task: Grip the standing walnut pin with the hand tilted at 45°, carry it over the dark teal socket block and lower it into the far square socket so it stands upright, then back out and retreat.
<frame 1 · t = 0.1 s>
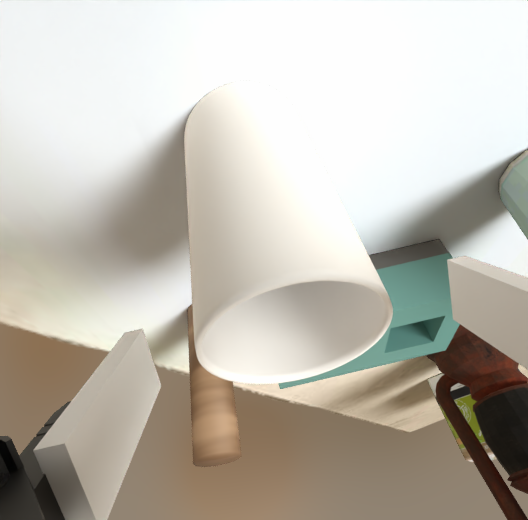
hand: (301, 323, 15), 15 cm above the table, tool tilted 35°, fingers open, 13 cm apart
walnut pin: (205, 310, 39), on the table
lantern: (466, 336, 58), on the table
cup: (243, 140, 25), on the table
tea box: (467, 369, 70), on the table
socket block: (345, 293, 42), on the table
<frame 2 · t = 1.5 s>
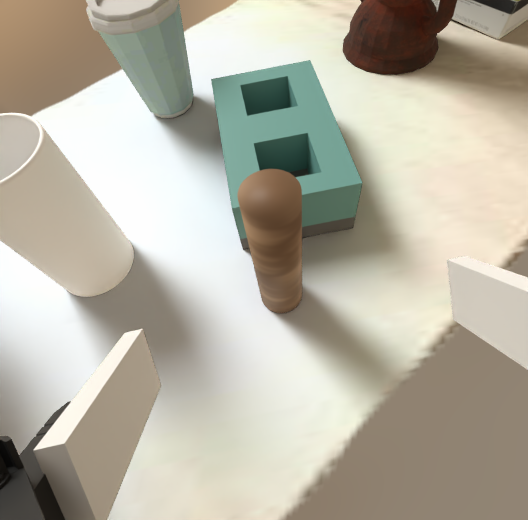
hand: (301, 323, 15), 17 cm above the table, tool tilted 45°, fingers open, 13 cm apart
walnut pin: (281, 294, 35), on the table
lantern: (388, 48, 54), on the table
cup: (98, 263, 39), on the table
tea box: (474, 13, 57), on the table
disposable coffee cup: (170, 106, 52), on the table
socket block: (280, 171, 43), on the table
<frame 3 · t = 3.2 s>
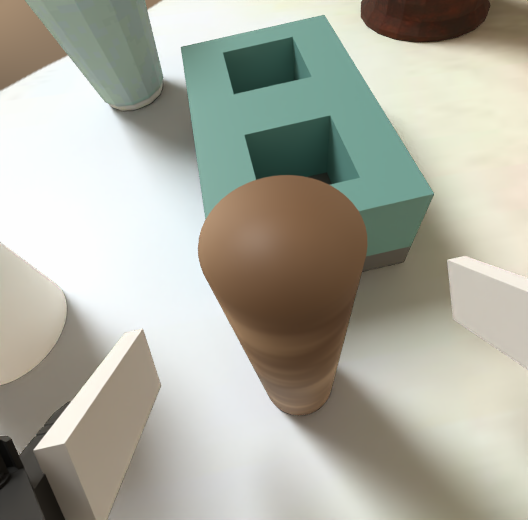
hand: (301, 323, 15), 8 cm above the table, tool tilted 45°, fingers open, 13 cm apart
walnut pin: (298, 379, 21), on the table
lantern: (420, 11, 41), on the table
cup: (12, 328, 25), on the table
disposable coffee cup: (133, 96, 39), on the table
socket block: (285, 178, 30), on the table
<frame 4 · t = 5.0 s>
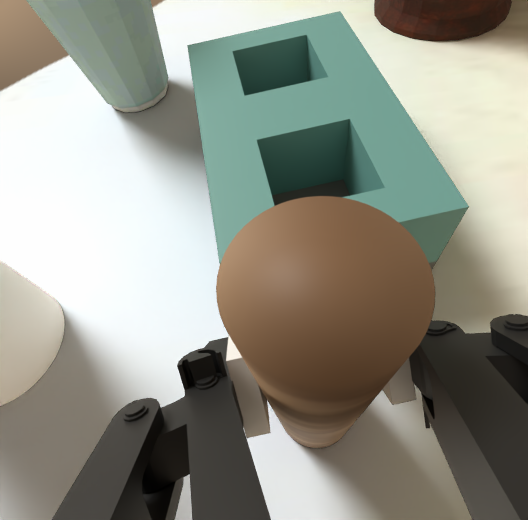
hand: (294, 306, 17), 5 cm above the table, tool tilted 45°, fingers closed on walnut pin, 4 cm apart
walnut pin: (314, 406, 19), on the table, touching gripper
lantern: (437, 8, 39), on the table
cup: (6, 345, 24), on the table
disposable coffee cup: (137, 97, 37), on the table
socket block: (297, 185, 28), on the table
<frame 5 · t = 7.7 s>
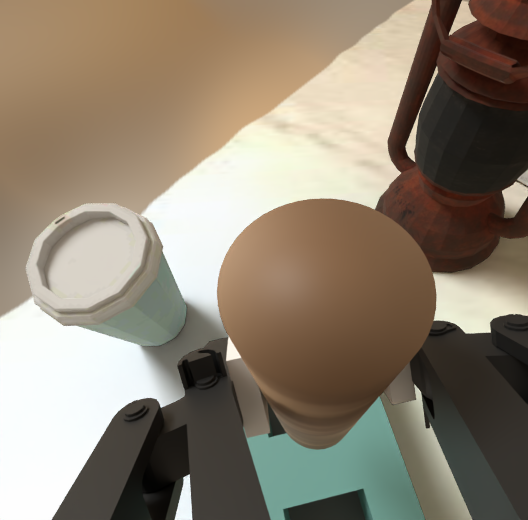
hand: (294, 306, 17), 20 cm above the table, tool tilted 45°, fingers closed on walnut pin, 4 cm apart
walnut pin: (314, 408, 19), point 15 cm above the table, touching gripper
lantern: (433, 222, 42), on the table
disposable coffee cup: (157, 321, 40), on the table
socket block: (313, 463, 31), on the table
when the fingers open (9 cm above the table, at t = 10.4 s): walnut pin drops 1 cm, resting on socket block.
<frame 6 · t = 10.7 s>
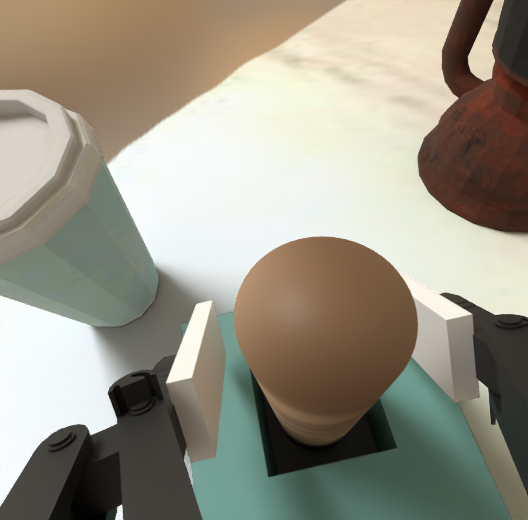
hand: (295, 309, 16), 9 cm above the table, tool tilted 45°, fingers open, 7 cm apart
walnut pin: (313, 412, 21), point 2 cm above the table, touching socket block
lantern: (499, 169, 31), on the table
disposable coffee cup: (119, 295, 29), on the table
socket block: (337, 510, 20), on the table
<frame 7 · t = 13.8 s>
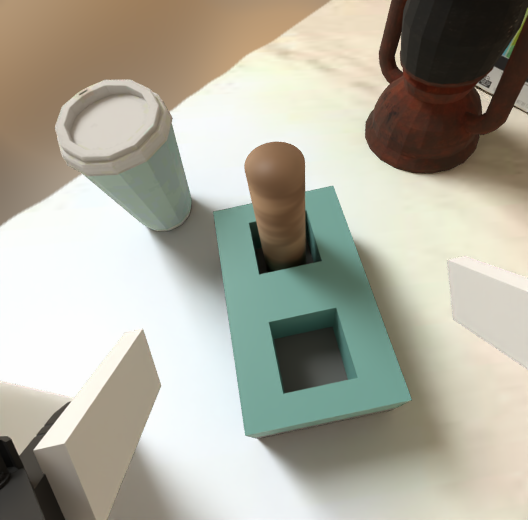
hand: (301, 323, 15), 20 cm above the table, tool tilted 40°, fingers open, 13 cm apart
walnut pin: (286, 266, 37), point 2 cm above the table, touching socket block
lantern: (418, 133, 46), on the table
cup: (82, 451, 32), on the table
tea box: (518, 84, 49), on the table
disposable coffee cup: (165, 213, 44), on the table
socket block: (298, 317, 36), on the table
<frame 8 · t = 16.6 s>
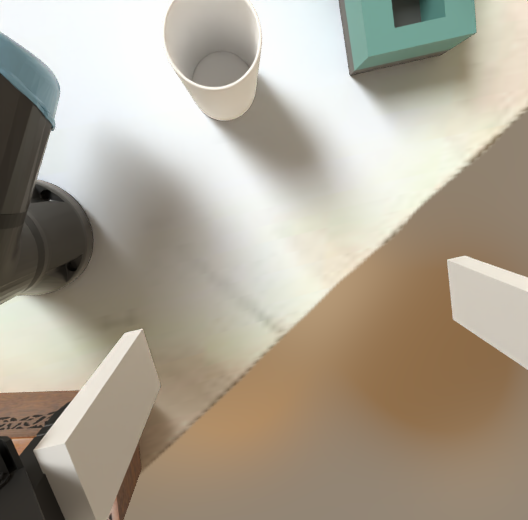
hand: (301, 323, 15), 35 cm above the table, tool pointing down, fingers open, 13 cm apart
cup: (223, 86, 45), on the table
tissue box cover: (53, 431, 55), on the table
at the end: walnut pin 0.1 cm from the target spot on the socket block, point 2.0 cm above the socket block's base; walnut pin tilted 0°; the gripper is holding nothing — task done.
